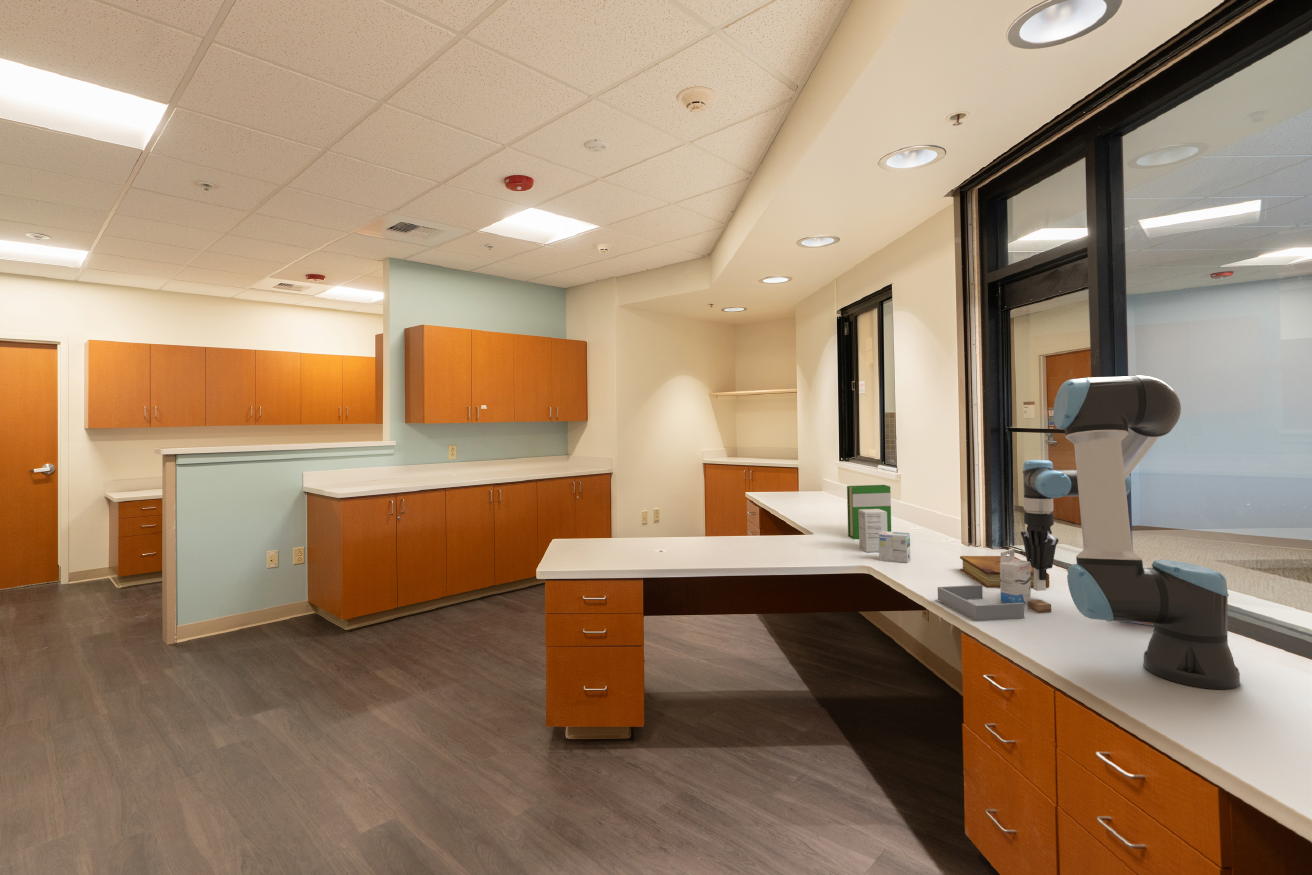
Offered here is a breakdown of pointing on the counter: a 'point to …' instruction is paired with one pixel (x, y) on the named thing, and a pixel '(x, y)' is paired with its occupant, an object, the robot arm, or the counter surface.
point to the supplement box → (871, 528)
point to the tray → (957, 600)
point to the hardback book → (867, 504)
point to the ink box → (1014, 579)
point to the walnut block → (1039, 606)
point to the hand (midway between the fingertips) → (1039, 589)
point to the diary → (989, 570)
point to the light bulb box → (894, 546)
